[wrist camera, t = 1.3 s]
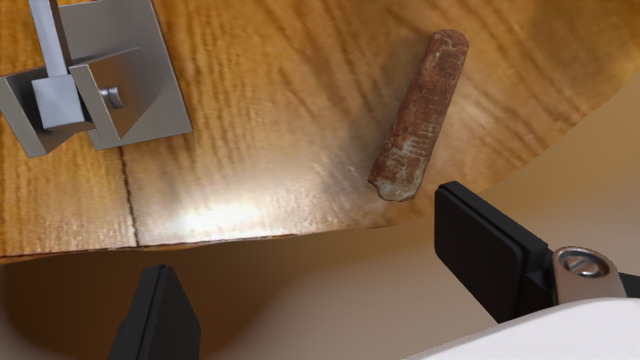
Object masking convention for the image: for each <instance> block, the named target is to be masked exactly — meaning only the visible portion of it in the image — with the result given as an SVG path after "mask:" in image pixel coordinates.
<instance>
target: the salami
mask: <svg viewBox="0 0 640 360" xmlns="http://www.w3.org/2000/svg"><path fill="white" fill-rule="evenodd" d="M468 48H469V44H468V40H467V39H466V37H465V36H464V35H463V34H462V33H460V32H458V31H455V30H445V29H442V30H439V31H437V32H434V33H433V35H432V37H431V39H430V42H429V44H428V47H427V49H426V52H425V54H424V56H423V58H422V61H421V63H420V65H419V67H418V69H417V71H416V73H415V74H414V77H413V79H412V81H411V83H410V86H409V88H408V90H407V92H406V95H405V97H404V99H403V102H402V104H401V106H400V108H399V111H398V114H397V116H396V118H395V120H394V123H393V125H392V127H391V129H390V131H389V133H388V135H387V138H386V140H385V141H384V143H383V146H382V148H381V150H380V153H379V155H378V157H377V159H376V161H375V163H374V165H373V168H372V170H371V172H370V174H369V177H368V179H367V181H368V182H369V183H370V184H372V185H373V186H375V187H376V188H377V192H378V196H379V197H380V198H381V199H383V200H385V201H399V202H403V201H406V200H408V199H414V197H415V194H416V192H417V190H418V188H419V186H420V184H421V181H422V178H423V175H424V172H425V169H426V167H427V164H428V162H429V159H430V156H431V154H432V150H433V148H434V145H435V142H436V140H437V138H438V135H439V133H440V130H441V127H442V124H443V121H444V119H445V116H446V113H447V110H448V108H449V105H450V102H451V99H452V96H453V93H454V90H455V88H456V85H457V82H458V79H459V77H460V74H461V71H462V68H463V65H464V62H465V58H466V55H467V51H468Z"/></svg>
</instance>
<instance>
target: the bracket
mask: <svg viewBox="0 0 640 360" xmlns="http://www.w3.org/2000/svg"><path fill="white" fill-rule="evenodd" d="M58 8H59V12H60V16H61V20H62V24H63V28H64V32H65V35H66V39H67V43H68V47H69V51H70V55H71V58H72V62H73V66H70V67H68V69H69V71H70V73H71V75H72V77H73V79H74V82H75V84H76V86H77V88H78V90H79V92H80V94H81V97H82V99H83V101H84V103H85V105H86V107H87V110H88V112H89V114H90V116H91V118H92V120H93V123H94V125H95V127H96V129H93V130H88V131H87V133H88V135H89V138H90V140H91V142H92V144H93V146H94V148H95V150H96V151H97V150H102V149H108V148H113V147H118V146H123V145H128V144H133V143H138V142H143V141H148V140H153V139H158V138H163V137H168V136H173V135H178V134H183V133H188V132H193V129H194V128H193V124H192V121H191V118H190V115H189V112H188V109H187V106H186V103H185V99H184V96H183V93H182V90H181V87H180V84H179V81H178V78H177V74H176V71H175V68H174V65H173V62H172V59H171V56H170V53H169V49H168V46H167V43H166V40H165V37H164V34H163V31H162V28H161V25H160V21H159V18H158V15H157V12H156V9H155V6H154V3H153V0H100V1H92V2H85V3H77V4H69V5H61V6H58ZM29 12H30V14H31V10H29ZM31 17H32V14H31ZM32 19H33V17H32ZM43 78H48V74H47V70H46V67H45V65H43V66H39V67H35V68H31V69H27V70H23V71H19V72H15V73H11V74H6V75H2V76H0V111H1V112H2V114H3V116H4V117H5V119H6V121H7V123H8V124H9V126H10V128H11V129H12V131H13V133H14V134H15V136H16V138H17V140H18V141H19V143H20V145H21V146H22V148H23V150H24V151H25V153H26V155H27V157H28V158H33V157H38V156H43V155H47V154H49V153H50V152H51V151H53V150H54V149H55V148H57V147H58V146H59V145H61V144H62V143H63V142H64V141H66V140H67V139H68V138H70V137H71V136H72V135H74V134H75V133H72V134H65V133H61V132H56V131H51V130H47V129H44V128H43V124H42V120H41V117H40V113H39V109H38V105H37V102H36V98H35V94H34V90H33V87H32V83H31V80H36V79H43Z"/></svg>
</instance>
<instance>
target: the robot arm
mask: <svg viewBox="0 0 640 360" xmlns="http://www.w3.org/2000/svg"><path fill="white" fill-rule="evenodd" d="M434 218H435V219H434V222H435V223H434V225H435V226H434V228H435V229H434V236H435V237H434V239H435V240H434V244H435V245H434V248H435V252H436V254H437V256H438V257H439V259H440V260H441V261H442V262H443V263H444V264H445V265H446V266H447V267H448V268H449V270H450V271H451V272H452V273H453V274H454V275H455V276H456V277H457V279H458V280H459V281H460V282H461V283H462V284H463V285H464V286H465V287H466V288H467V290H468V291H469V292H470V293H471V294H472V295H473V296H474V297H475V298H476V300H477V301H478V302H479V303H480V304H481V305H482V306H483V307H484V308H485V309H486V311H487V312H488V313H489V314H490V315H491V316H492V317H493V318H494V320H495V321H496V322H497V323H498V325H495V326H493V327H490V328H487V329H484V330H482V331H479V332H476V333H473V334H470V335H467V336H465V337H462V338H459V339H456V340H454V341H451V342H448V343H445V344H442V345H440V346H437V347H434V348H431V349H429V350H426V351H423V352H420V353H417V354H415V355H412V356H409V357H406V358H404V359H401V360H640V276H634V275H629V274H625V273H619V272H618V271H617V268H616V267H615V265H614V264H613V262H612V261H610V260H609V259H608V258H607V257H606V256H604V255H602V254H600V253H598V252H596V251H593V250H590V249H587V248H582V247H574V246H568V247H562V248H559V249H557V250H556V251H555V252H553V251H551V250H550V249H548V244H547V243H546V242H544V241H543V240H541V239H540V238H538V237H537V236H535V235H534V234H533V233H531V232H530V231H528V230H527V229H525V228H524V227H522V226H521V225H519V224H518V223H517V222H515V221H514V220H512V219H511V218H509V217H508V216H506V215H505V214H503V213H502V212H501V211H499V210H498V209H496V208H495V207H493V206H492V205H491V204H489V203H488V202H486V201H485V200H483V199H482V198H480V197H479V196H478V195H476V194H475V193H473V192H472V191H470V190H469V189H467V188H466V187H465V186H463V185H462V184H460V183H459V182H457V181H451V182H448V183H444V184H441V185H439V187H438V190H436V191H435V217H434ZM200 335H201V329H200V324H199V321H198V319H197V317H196V315H195V313H194V311H193V309H192V307H191V304H190V302H189V300H188V298H187V296H186V294H185V292H184V290H183V288H182V286H181V284H180V282H179V280H178V278H177V276H176V273H175V271H174V269H173V268H172V266H167V267H166V265H165V264H164V263H162V264H158V265H154V266H151V267H147V268H145V269H143V271H142V274H141V277H140V280H139V283H138V286H137V289H136V292H135V295H134V298H133V301H132V304H131V307H130V310H129V313H128V316H127V317H125V318H124V319H123V320H122V321H121V323H120V325H119V328H118V331H117V334H116V337H115V339H114V342H113V345H112V348H111V351H110V354H109V357H108V359H107V360H199V348H200Z"/></svg>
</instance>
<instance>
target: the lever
mask: <svg viewBox="0 0 640 360" xmlns="http://www.w3.org/2000/svg"><path fill="white" fill-rule="evenodd" d="M28 2H29V6H30V10H31V14H32V17H33V21H34V25H35V29H36V32H37V36H38V40H39V44H40V48H41V51H42V55H43V59H44V63H45V67H46V70H47V74H48V78H43V79H36V80H31V83H32V87H33V90H34V94H35V98H36V102H37V105H38V109H39V113H40V117H41V120H42V124H43V128H44V129H47V130H51V131H56V132H61V133H65V134H72V133H77V132H83V131H88V130H93V129H96V127H95V125H94V123H93V120H92V118H91V116H90V114H89V112H88V110H87V107H86V105H85V103H84V101H83V99H82V97H81V94H80V92H79V90H78V88H77V86H76V84H75V82H74V79H73V77H72V75H71V73H70V71H69V69H68V67H70V66H73V62H72V58H71V55H70V51H69V47H68V43H67V39H66V35H65V32H64V28H63V24H62V20H61V16H60V12H59V8H58V5H57V1H56V0H28Z"/></svg>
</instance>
